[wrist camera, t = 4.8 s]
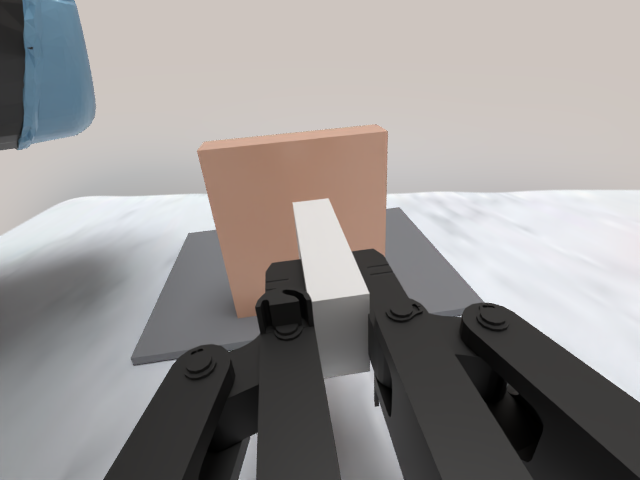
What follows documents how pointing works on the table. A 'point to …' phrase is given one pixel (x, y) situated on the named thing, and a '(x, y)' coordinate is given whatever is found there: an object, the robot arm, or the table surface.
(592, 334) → the table surface
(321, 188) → the tile
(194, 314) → the mat
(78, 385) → the table surface
